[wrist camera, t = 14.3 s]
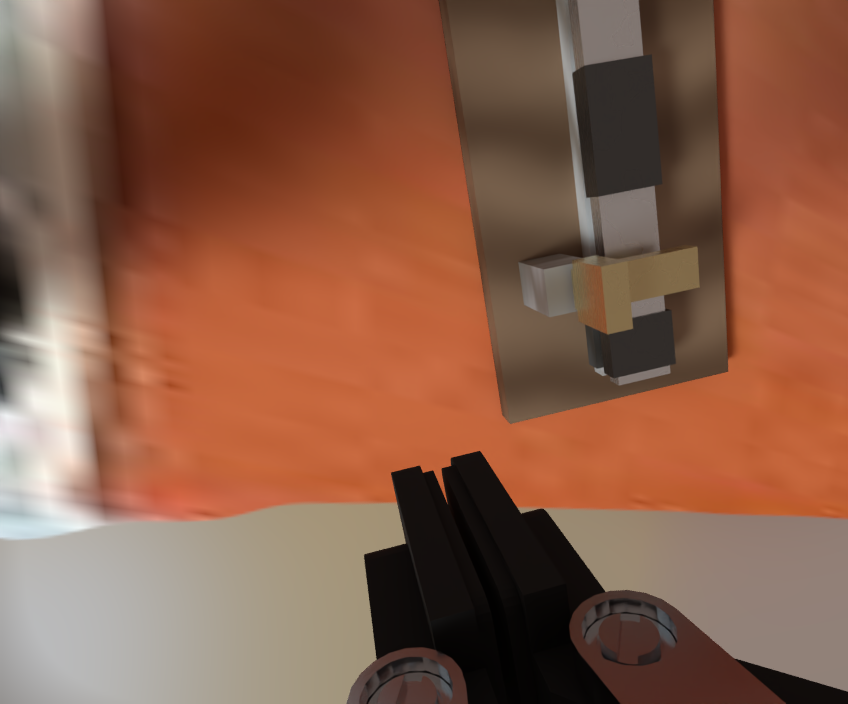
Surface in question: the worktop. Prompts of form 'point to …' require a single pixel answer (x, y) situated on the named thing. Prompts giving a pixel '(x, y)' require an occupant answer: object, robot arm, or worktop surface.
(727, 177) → the worktop surface
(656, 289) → the lock bolt
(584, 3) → the banded silver bar
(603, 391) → the tong base
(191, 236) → the worktop surface
